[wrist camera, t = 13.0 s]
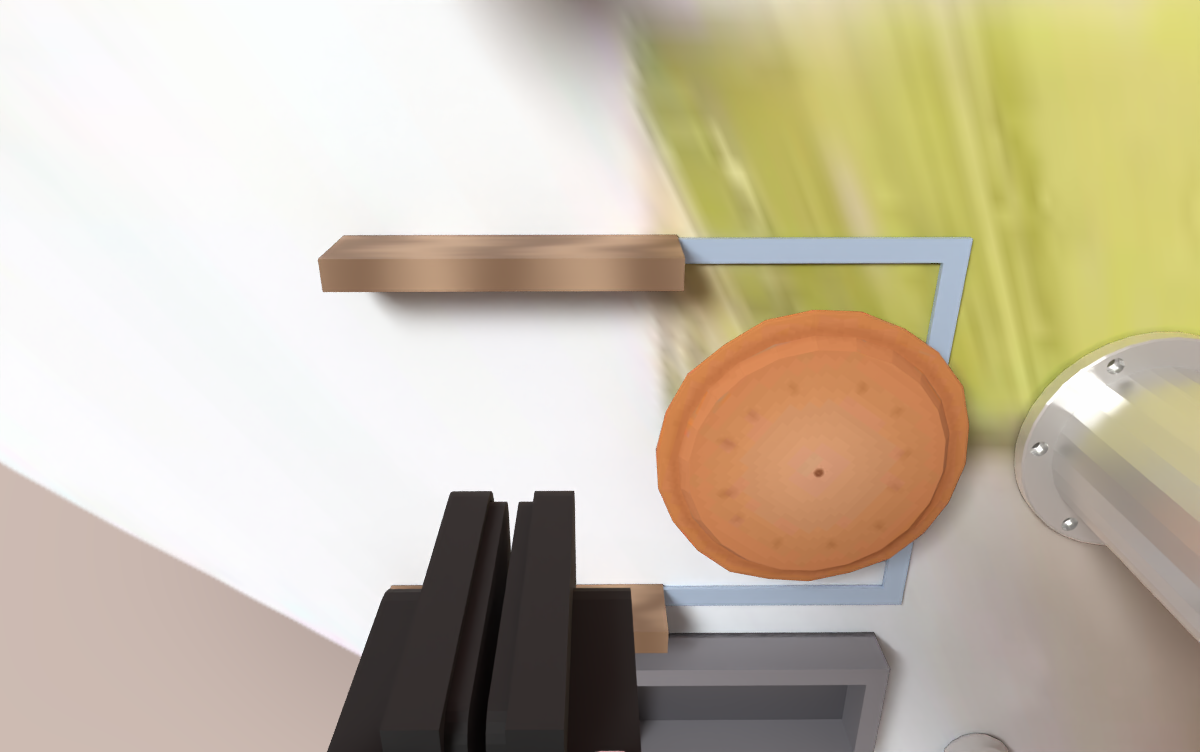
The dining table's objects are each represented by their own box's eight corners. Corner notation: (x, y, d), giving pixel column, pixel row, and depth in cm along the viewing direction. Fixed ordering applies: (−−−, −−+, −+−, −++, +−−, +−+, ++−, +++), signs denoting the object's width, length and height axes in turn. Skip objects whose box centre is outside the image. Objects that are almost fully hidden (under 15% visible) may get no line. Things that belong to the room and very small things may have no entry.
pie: (622, 325, 41) (625, 364, 36) (930, 255, 39) (974, 287, 35) (680, 564, 47) (690, 624, 43) (948, 512, 46) (988, 568, 41)
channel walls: (676, 234, 39) (685, 258, 35) (662, 604, 48) (667, 653, 44) (343, 235, 39) (317, 259, 35) (394, 605, 48) (377, 654, 44)
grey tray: (873, 632, 49) (890, 669, 46) (856, 727, 52) (870, 767, 50) (611, 633, 49) (612, 670, 46) (610, 729, 52) (611, 768, 50)
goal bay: (970, 237, 39) (972, 238, 39) (899, 601, 48) (901, 604, 48) (655, 237, 39) (656, 239, 39) (645, 602, 48) (645, 605, 48)
